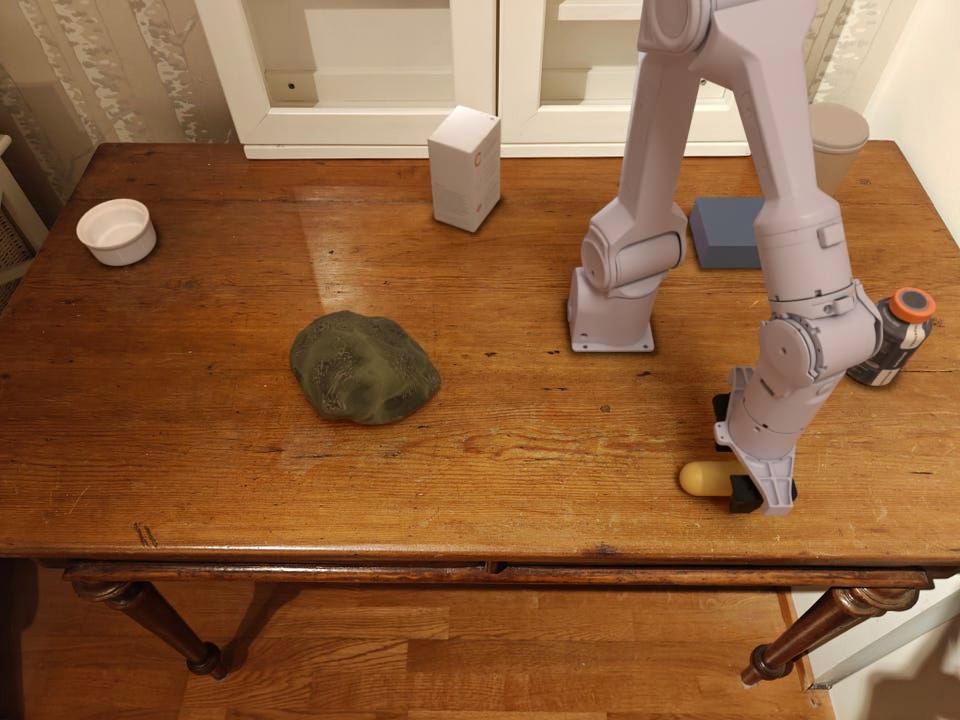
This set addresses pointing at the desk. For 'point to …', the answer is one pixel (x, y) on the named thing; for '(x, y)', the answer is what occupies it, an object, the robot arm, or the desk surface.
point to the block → (726, 231)
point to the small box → (465, 167)
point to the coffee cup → (835, 142)
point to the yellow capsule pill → (710, 477)
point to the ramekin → (117, 232)
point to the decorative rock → (362, 368)
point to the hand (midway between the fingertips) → (732, 478)
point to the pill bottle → (897, 335)
